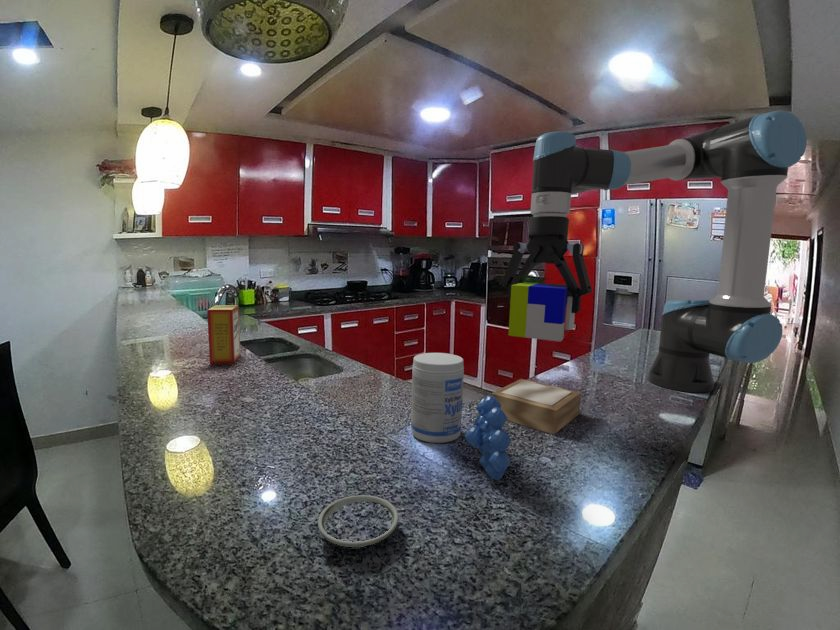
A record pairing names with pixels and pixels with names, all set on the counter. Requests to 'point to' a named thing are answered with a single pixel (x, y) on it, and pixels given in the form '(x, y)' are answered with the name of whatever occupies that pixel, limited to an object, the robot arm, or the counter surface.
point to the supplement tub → (437, 397)
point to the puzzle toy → (538, 311)
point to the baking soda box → (223, 333)
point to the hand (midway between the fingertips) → (541, 325)
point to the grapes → (490, 437)
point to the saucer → (350, 500)
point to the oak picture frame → (538, 405)
